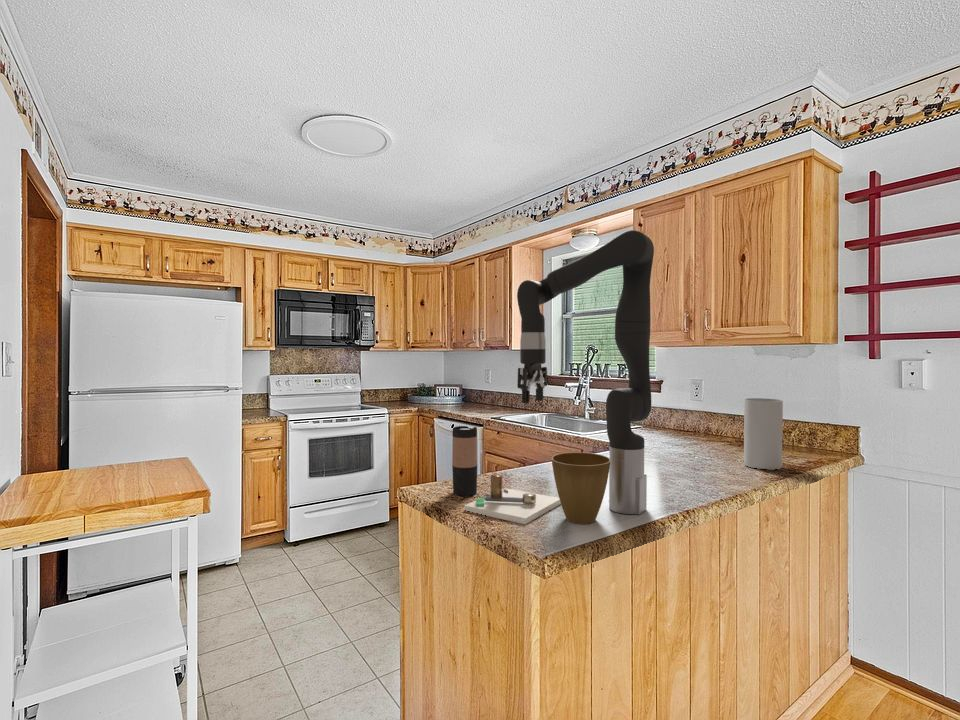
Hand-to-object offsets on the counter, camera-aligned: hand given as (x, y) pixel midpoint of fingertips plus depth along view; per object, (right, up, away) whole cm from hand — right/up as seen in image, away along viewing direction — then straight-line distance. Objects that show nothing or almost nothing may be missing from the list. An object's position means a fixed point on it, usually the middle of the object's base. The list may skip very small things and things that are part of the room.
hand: (532, 401), depth 155 cm
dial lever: (-7, -26, -13) cm, 30 cm away
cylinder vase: (+89, -27, +37) cm, 101 cm away
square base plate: (-7, -28, -11) cm, 31 cm away
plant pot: (+10, -29, -22) cm, 38 cm away
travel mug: (-21, -28, +3) cm, 35 cm away
